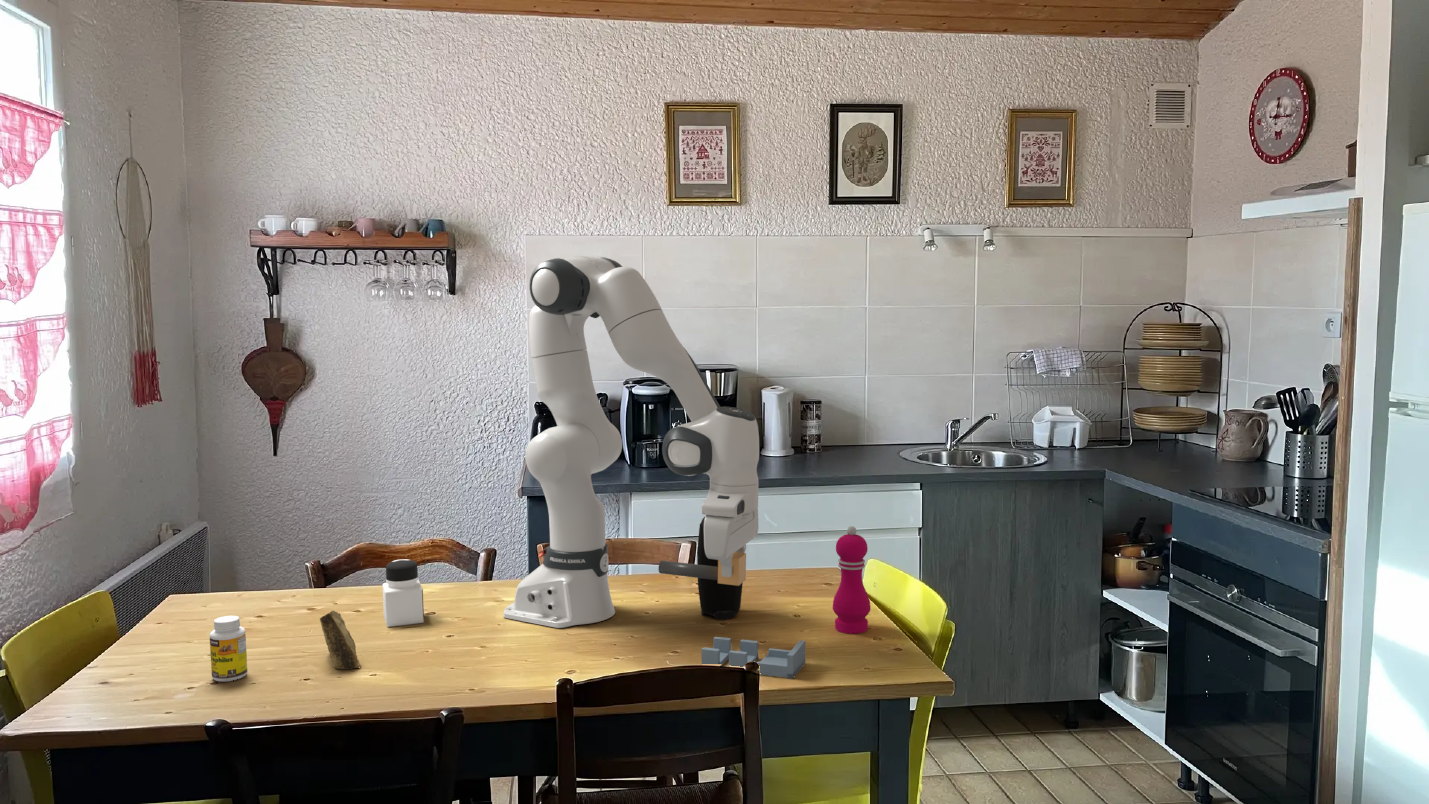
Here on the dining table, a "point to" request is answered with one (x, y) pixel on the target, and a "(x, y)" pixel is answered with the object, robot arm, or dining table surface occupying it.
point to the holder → (783, 661)
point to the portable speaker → (716, 588)
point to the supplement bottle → (228, 649)
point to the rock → (339, 641)
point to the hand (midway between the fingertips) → (732, 572)
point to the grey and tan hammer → (708, 570)
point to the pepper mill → (851, 585)
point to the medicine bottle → (402, 594)
